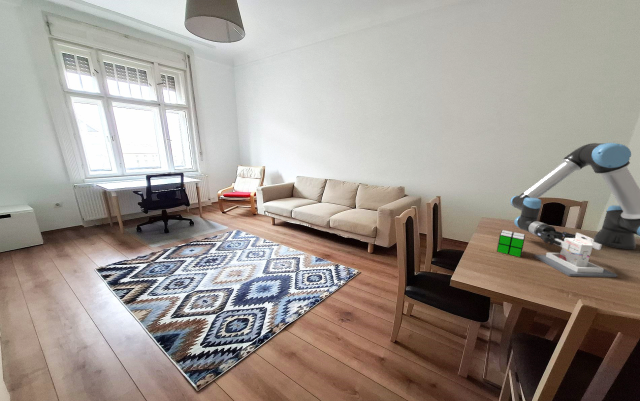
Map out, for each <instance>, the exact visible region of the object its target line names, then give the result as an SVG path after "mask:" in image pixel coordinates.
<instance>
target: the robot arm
mask: <svg viewBox="0 0 640 401" xmlns="http://www.w3.org/2000/svg"><path fill="white" fill-rule="evenodd" d="M631 157H632V151H631V149H630V148H629V147H628V146H626V145H625V144H621V143H615V142H606V143H604V142H603V143H597V142H593V143H591V142H590V143H587V144H584V145H581V146H579V147H578V148H576V149H574V150H573V151H571V152H570V153H568V154H567V155H565V156H564V158H562V159H561V162H560V163H559V164H558V165H556V166H555V167H554V168H552V169H551V170H550V171H549V172H547V173H546V174H545V175H544V176H542V177H541V178H540V179H539V180H537V181H536V182H535V183H533V184H532V185H530V186H529V187H528V188H527V189H525V190H524V191H523V192H522V193H520V194H519V195H514V196H512V197H511V199H510V205H511V206H512V207H513V208H516V209H517V210H519V211H520V212H521V213H520V215H519V216H516V217H515V219H514V225H515V226H516V227H517V228H519V229H520V230H523V231H525V232H527V233H530V234H532V235H534V237H539V238H540V239H541V240H542V241H543V242H545V243H547V244H549V245H550V246H553V245H556V246H558V247H560V248H561V249H562V248H565V249H567V250H569V249H570V245H571V244H569V243H566V242H564V239H565V238H575V236H576V234H574V233H570V232H567V231H562V232H561V231H558V230H557V229H556V228H555V227H554V226H552V225H549V224H547V223H544V222H541V221H538V219H539V214H540V210H541V207H542V200H541V199H540V197H542V196H543V195H545V194H546V193H547V192H549V191H550V190H551V189H553V188H554V187H556V185H558V184H559V183H561V182H562V181H563V180H565V179H566V178H567V177H569V176H570V175H572V174H573V173H575V171H580V170H582V169H583V168H585V167H588V166H590V167H591V169H592V170H593V172H594V173H595V174H598V175H601V177H602V178H603V180H604V183H606V185H607V187H608V188H609V190H610V192H611V193H612V195H613V197H614V199H615V200H616V202H617V204H618V205H617V204H614V205H610V206H608V208H607V210H606V213H605V216H604V220H603V222H602V226H601V229H599V231H598V232H597V233H596V234H595V235H594V237H593V239H594V242H593V247H592V249H594V250H597V251H601V249H602V245H603V246H606V247H612V248H616V249H621V250H635V249H636V246H637V244H636V237H635V235H636V236H639V237H640V187H639V185H638V183H637V182H636V180H635V178H634V177H633V175H632V173H631V172H630V170H629V168H628V166H629V165H630V164H631V162H630V160H631V159H630V158H631ZM581 238H583V239H585V240H587V239H586V238H585V237H581Z"/></svg>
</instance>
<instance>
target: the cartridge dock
mask: <svg viewBox="0 0 640 401" xmlns="http://www.w3.org/2000/svg"><path fill="white" fill-rule="evenodd" d="M560 253H561V252H546V254H533V257H534V258H535V259H537V260H539V261H540V262H542V263H544V264H546V265H548V266H550V267H552V268H553V269H555V270H557V271H559V272H561V273H562V274H564V275H567V277H586V278H587V277H590V278H591V277H593V278H594V277H596V278H597V277H598V278H599V277H601V278H617V277H618V274H617V273H615V272H612V271H609V270H608V269H605V268H603V267H601V266H599V265H598V264H595V263H592V262H590V261H588V264H587V267H577V266H575V265H573V264H571V263H569V262H567V261H565V260H563V259H561V258H559V257H560Z"/></svg>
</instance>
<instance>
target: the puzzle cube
mask: <svg viewBox="0 0 640 401" xmlns="http://www.w3.org/2000/svg"><path fill="white" fill-rule="evenodd" d="M525 238H526V234H525V233H519V232H516V231H514V232H513V231H509V230H505V229H502V230H501V231H500V234H499V238H498V242H497V248H496V252H497V253H501V254H506V255H510V256H513V257H518V258H521V257H522V254H523V253H522V252H523V248H524V242H525V240H526V239H525Z"/></svg>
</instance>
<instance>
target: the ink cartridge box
mask: <svg viewBox="0 0 640 401" xmlns="http://www.w3.org/2000/svg"><path fill="white" fill-rule="evenodd" d="M575 235H576V236H575V238H565V239H564V240H563V241H564V242H566V243H569V244H571V245H570V249H569V250H567V249H565V248H562V247H561V250H560V252H559V253H560V257H559V258H561V259H563V260H565V261H567V262H569V263H571V264H573V265H575V266H577V267H587V264H588V262H589V260H590V257H591V253H592V251H593V248H592V247H593V242H595V241H594V237H593V238H592V237H589V236H588V235H584V234H583V233H580V232H575ZM581 237H585V238H586V239H587V240H585V239H583V238H581Z"/></svg>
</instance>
